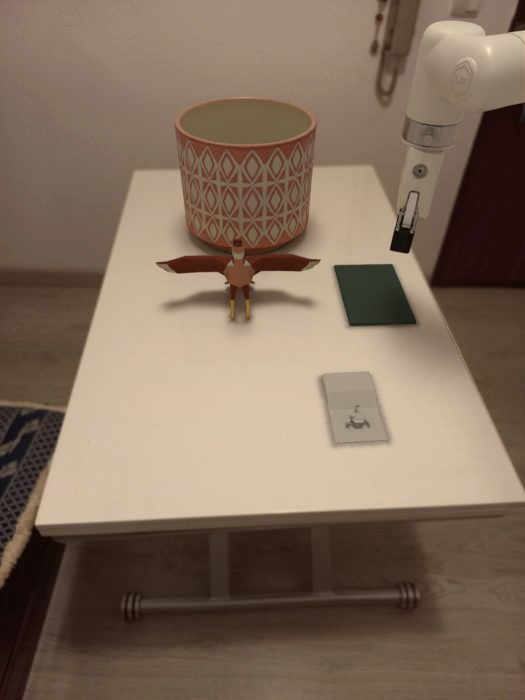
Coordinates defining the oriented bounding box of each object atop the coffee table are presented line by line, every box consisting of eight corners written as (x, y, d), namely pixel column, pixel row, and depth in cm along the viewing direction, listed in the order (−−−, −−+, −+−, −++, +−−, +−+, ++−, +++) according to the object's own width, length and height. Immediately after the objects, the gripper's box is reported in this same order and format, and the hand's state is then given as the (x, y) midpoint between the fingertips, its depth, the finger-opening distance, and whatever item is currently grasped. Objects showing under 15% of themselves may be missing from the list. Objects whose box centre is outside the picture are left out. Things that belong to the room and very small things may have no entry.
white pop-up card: (367, 376, 74) (370, 365, 72) (387, 439, 65) (391, 429, 63) (321, 378, 73) (323, 368, 72) (335, 442, 65) (337, 432, 63)
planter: (297, 269, 94) (306, 152, 78) (170, 253, 98) (152, 138, 82) (314, 206, 113) (324, 101, 97) (207, 194, 117) (199, 91, 101)
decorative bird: (152, 334, 75) (143, 240, 69) (169, 303, 92) (162, 225, 86) (326, 330, 76) (330, 237, 70) (310, 300, 93) (313, 223, 87)
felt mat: (391, 266, 95) (392, 263, 95) (416, 324, 83) (417, 321, 82) (334, 267, 95) (334, 264, 95) (349, 325, 82) (350, 323, 82)
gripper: (455, 157, 58) (419, 276, 71) (460, 114, 69) (427, 224, 82) (395, 149, 60) (370, 267, 73) (409, 108, 71) (385, 216, 84)
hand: (401, 243), depth 77 cm, fingers open, 3 cm apart
